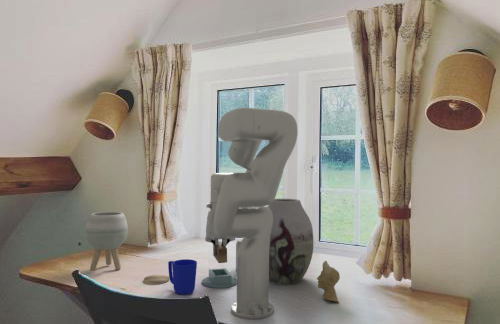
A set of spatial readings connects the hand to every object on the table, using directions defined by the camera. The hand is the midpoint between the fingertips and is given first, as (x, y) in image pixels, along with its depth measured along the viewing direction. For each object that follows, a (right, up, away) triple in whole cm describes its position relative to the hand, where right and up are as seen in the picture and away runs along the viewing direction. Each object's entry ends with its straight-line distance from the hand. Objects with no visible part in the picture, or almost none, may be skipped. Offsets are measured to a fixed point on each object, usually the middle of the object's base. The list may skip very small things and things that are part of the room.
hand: (220, 257), depth 137 cm
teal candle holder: (0, -9, 0) cm, 9 cm away
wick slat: (-2, +2, +5) cm, 6 cm away
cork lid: (-23, -9, +1) cm, 25 cm away
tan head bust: (+36, -10, -17) cm, 41 cm away
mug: (-13, -9, -10) cm, 18 cm away
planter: (-48, -9, +16) cm, 51 cm away
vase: (+24, -10, +4) cm, 26 cm away
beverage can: (+8, -10, +17) cm, 21 cm away
